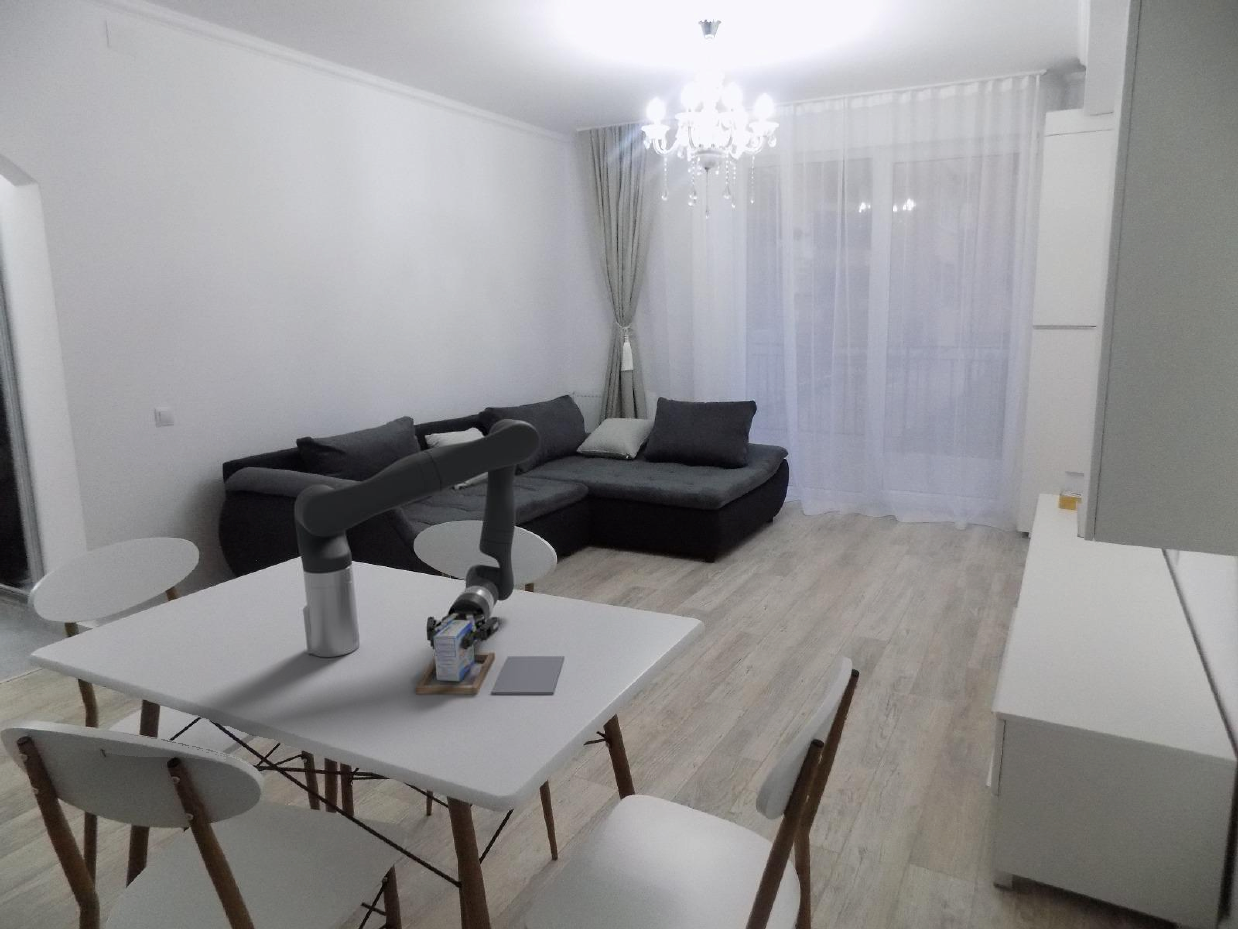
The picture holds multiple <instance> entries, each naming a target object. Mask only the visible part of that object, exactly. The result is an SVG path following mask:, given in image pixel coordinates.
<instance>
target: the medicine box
mask: <svg viewBox="0 0 1238 929" xmlns="http://www.w3.org/2000/svg"><path fill="white" fill-rule="evenodd" d="M471 626H472V622H471V621H464V620H451V621H450V622H449V623H448V624H447V625H446V626H445V627H444V628H442V629H441V630H440V631H439V632H438V633H437V634H436V635H435V636H434V648H435V649H434V656H435V657H434V659H435V661H436V672H435V673H436V680H437V681H445V682H446V681H447V682H450V681H451V682H460V681H461V680H462V679H463V677H464V676H465V675H466V673H467V672H468V671H469V670H470V669H471V668H472V667H473V665H474V664H475V661H474V653H475V652H474V651H475V650H474V644H473V645H472V646H471V647H469V648H468V649H463V637H464V636H465V634H466V632H467V631H469V628H470V627H471Z"/></svg>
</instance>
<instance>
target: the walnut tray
mask: <svg viewBox="0 0 1238 929" xmlns="http://www.w3.org/2000/svg"><path fill="white" fill-rule="evenodd" d="M495 653H496V652H474V662H475V661H482V662H483V661H484V662H483V664H482V666H481V668H480V670H479V672H478V674H477V675H476V677H475V679H474V681H473V684H472V685H471V684H470V685H469V684H467V685H466V684H465V685H463V684H460V685H459V684H458V685H457V684H455V685H453V684H452V685H451V684H448V685H447V684H446V685H445V684H443V685H441V684H440V685H439V684H438V685H437V684H435V685H432V684H431V685H429V683H430V682H431V679H432V678H433V676H434V675H435V673H436V661H435V658H433V660H432V661H431V663H430V665H429V666H428V668H427V670H425V672H424V673H423V675H422V677H421V678H420V680H419V681H418V682H417V684H416V685H415V687H414V693H415V695H478V693H479V691H480V690H481V687H482V685H483V683H484V681H485V679H486V677H487V675H488V673H489V671H490V669H491V668H492V665H493V663H494V661H495V660H496V654H495Z"/></svg>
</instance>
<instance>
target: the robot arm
mask: <svg viewBox="0 0 1238 929" xmlns="http://www.w3.org/2000/svg"><path fill="white" fill-rule="evenodd" d="M540 446H541V435H540V434H539V432H538V430H537V428H536V427H535V426H533V425H532V424H531V423H529V422H527V421H524V420H519V419H510V418H504V419H501V420H498V421H497V422H495V423H494V424H493V425H492V426H491V428H490V429H489V432H488V434H487V435H485V436H483V437H480V438H478V439H475V440H474V439H473V440H470V441H466V442H460V443H459V442H458V443H453V444H447V445H441V446H436V447H431V448H428V449H425V450H422V451H419V452H416V453H414V454H411V455H408V456H405V457H403V458H401V459H399V460H396V461H395V462H393V463H392V464H390V465H388V466H387V467H386V468H384V469H383V470H381V471H379V472H378V473H377V474H375V475H373V476H372V477H370V478H368V479H366V480H363V481H360V482H357V483H353V484H349V485H347V486H342V487H338V488H333V487H331V486H328V485H326V484H313V485H310V486H308V487H305V488H304V489H303V490H302V491H301V492H300V493H299V494H298V495H297V497H296V500H295V502H294V513H293V514H294V524H295V530H296V538H297V548H298V551H299V552H298V553H299V554H300V559H301V563H302V572H303V580H304V581H303V582H304V590H305V597H306V598H305V601H306V605H305V606H304V607H303V609H302V612H303V614H302V615H303V624H304V632H305V641H306V650H307V654H308V655H314V656H316V657H322V658H329V657H330V658H332V657H338V656H344V655H346V654H350V653H352V652H354V651H356V650H357V649H359V647H360V633H359V622H358V611H357V600H356V599H357V598H356V590H355V580H354V571H353V570H354V569H353V559H352V558H353V557H352V552H351V548H350V546H349V543H348V538H347V534H346V531H347V530H348V529H351V528H352V527H354V526H357V525H358V524H360V523H362V522H364V521H366V520H368V519H371V518H373V517H374V516H377V515H380V514H382V513H385V512H387V511H391V510H394V509H398V508H400V507H403V506H405V505H408V504H411V503H414V502H417V501H420V500H423V499H426V498H428V497H431V496H434V495H436V494H439V493H442V492H444V491H446V490H448V489H450V488H454V487H457V486H458V485H460V484H462V483H463V484H464V483H466V482H467V481H470V480H472V479H474V478H477V477H479V476H480V475H484V474H485V473H487V478H486V479H487V480H486V481H487V482H486V497H485V506H484V514H483V521H482V525H481V527H482V528H481V533H480V539H479V545H478V547H479V548H478V549H479V551H480V553H482V554H483V555H485V556H488V557H491V558H493V559H494V560H495V561H497V563H498V567H497V566H491V565H486V564H475V565H472V566H470V568H469V569H468V570H467V573H466V575H465V589H464V590H463V591H462V592H461V593H460V594H459V595H458V596H457V597H456V599H455V600H454V602H453V604H452V605H451V606H450V607H449V609H448V612H447V615H446V616H443V617H442V618H441V619H437V618H435V617H434V616H429V617H427V622H426V627H425V628H426V640H427V642H428V641H429V642H430V647H432V649H433V650H435V648H434V636H435V635H436V634H437V633H438V632H439V631H440V630H441V629H442V628H444V627H445V626H446V625H447V624H448V623H449V622H450V621H451V620H464V621H471V622H472V626H471V627H470V628H469V631H467V632H466V634H465V636H464V637H463V649H468V648H469V647H471V646H472V645H473V646H474V643H476V642H477V641H478V640H480V641H481V642H485V641H488V639H490V638H491V637H492V636H493V635H495V633H496V632H498V631H499V620H498V617H497V616H492V613H493V609H494V608H495V606H496V604H497V601H506V600H508V599H509V598H510V597H511V596H512V593H513V591H514V587H515V582H514V573H513V572H514V571H513V565H512V564H513V563H512V562H513V561H512V549H513V548H512V546H513V541H514V535H515V527H516V504H515V503H516V502H515V491H514V490H515V489H514V486H515V484H514V483H515V473H516V472H515V471H516V467H517V465H518V464H522V463H525V462H528V461H529V460H530V459H532V458H533V457H534V456H535V455H536V454H537V452H538V450H539V448H540ZM491 616H492V617H491Z"/></svg>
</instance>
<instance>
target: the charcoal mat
mask: <svg viewBox="0 0 1238 929" xmlns="http://www.w3.org/2000/svg"><path fill="white" fill-rule="evenodd" d="M564 660H565V656H563V655H561V656H560V655H556V656H555V655H554V656H553V655H552V656H550V655H542V656H539V655H538V656H537V655H536V656H534V655H532V656H529V655H527V656H526V655H525V656H521V655H520V656H517V655H516V656H514V655H513V656H512V655H511V656H510V655H509V656H507V657H506V659H505V662H504V663H503V665H502V668H501V670H500V672H499V674H498V676H497V678H496V680H495V683H494V685H493V687H492V689H491V691H490V694H491V695H554V694H555V690H556V687H557V685H558V681H559V677H560V674H561V671H562V668H563V663H564Z"/></svg>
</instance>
